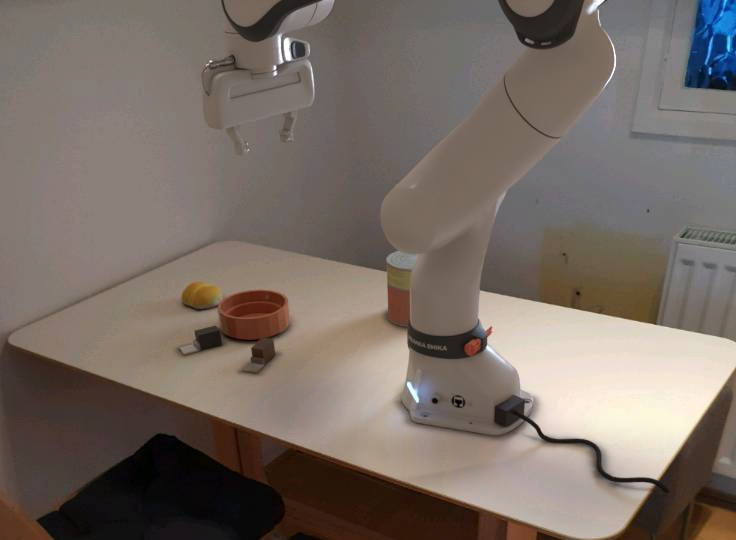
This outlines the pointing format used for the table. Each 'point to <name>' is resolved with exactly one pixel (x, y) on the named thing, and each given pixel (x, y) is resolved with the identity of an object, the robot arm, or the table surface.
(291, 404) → the table surface
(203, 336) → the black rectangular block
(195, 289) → the bread roll
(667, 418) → the table surface
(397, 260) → the canned food
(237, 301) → the bowl
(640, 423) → the table surface
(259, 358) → the block
